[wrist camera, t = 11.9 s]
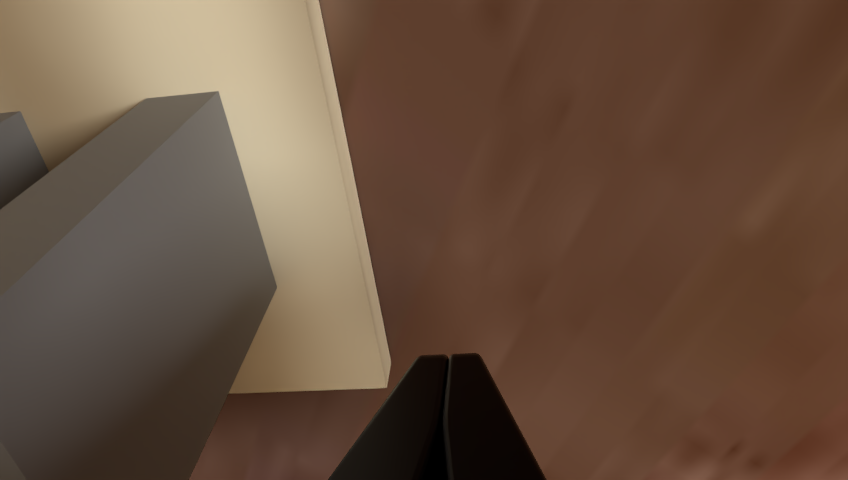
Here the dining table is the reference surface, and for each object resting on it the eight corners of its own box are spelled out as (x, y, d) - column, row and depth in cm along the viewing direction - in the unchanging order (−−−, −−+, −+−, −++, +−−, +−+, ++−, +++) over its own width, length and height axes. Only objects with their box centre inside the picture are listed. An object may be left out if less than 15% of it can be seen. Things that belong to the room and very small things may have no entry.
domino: (218, 91, 13) (-60, 353, 6) (277, 287, 16) (123, 622, 9) (146, 98, 13) (-197, 358, 7) (215, 291, 16) (19, 621, 9)
